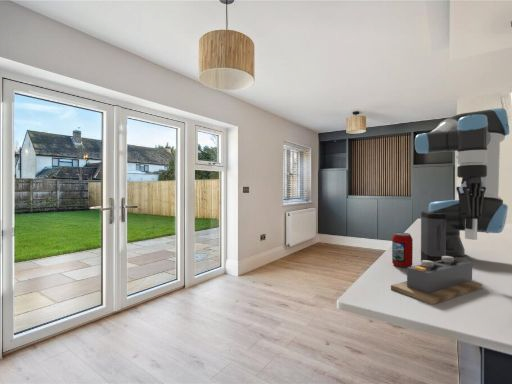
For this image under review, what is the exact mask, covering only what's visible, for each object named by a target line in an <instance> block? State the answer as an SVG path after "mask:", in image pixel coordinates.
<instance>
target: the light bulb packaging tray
mask: <svg viewBox="0 0 512 384" xmlns="http://www.w3.org/2000/svg"><path fill="white" fill-rule="evenodd" d="M406 275H407V276H406V281H407V287H409V288H412V289H415V290H418V291H421V292H424V293H427V294H429V293H433V292H436V291H439V290H442V289H446V288H449V287H452V286H456V285H459V284H462V283H465V282H469V281H473V262H472V261H468V260H463V259H457V258H454V262H453V263H451V266H449V265H445V264H444V262H443V261H442V260H439V261H435V262H434V267H431V271H429V270H426V268H424V266H422V265H421V264H418V265H414V266H413V265H411V266H410V267H406Z"/></svg>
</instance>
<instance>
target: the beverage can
mask: <svg viewBox="0 0 512 384" xmlns="http://www.w3.org/2000/svg"><path fill="white" fill-rule="evenodd" d="M391 239H392V240H391V245H392V247H391V252H392V253H391V256H392V257H391V258H392V259H391V261H392V264H393V265H394V266H396V267H398V266H399V268H408V267H412V266H413V257H414V256H413V251H414V250H413V238H412V235H411V233H409V232H394V234H393V235H392V238H391Z"/></svg>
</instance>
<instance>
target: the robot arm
mask: <svg viewBox="0 0 512 384" xmlns="http://www.w3.org/2000/svg"><path fill="white" fill-rule="evenodd" d="M509 135H510V125H509V118H508V113H507V110H506V108H503V107H498V108H497V107H496V108H491V109H484V110H478V111H469V112H463V113H459V114H455V115H452V116H451V117H448V118H446V119H444V120H442V121H441V122H440V123H438V125H437V126H436V128H435V129H433V130H432V131H430V132H426V133H425V132H423V133H418V134H417V135H415V138H414V148H415V151H416V153H417V154H432V153H433V154H434V153H444V152H457V156H456V158H457V165H458V166H457V167H456V168H457V169H456V170H457V171H456V176H457V177H458V178H462V179H461V183H460V186H456V192H457V195H458V199H450V200H448V199H447V200H439V201H431V202H430V203H429V204H428V210H427V211H435V212H439V213H445V214H446V256H450V257H453V258H455V257H456V258H457V257H464V256H465V255H466V254H465V253H466V251H465V247H464V244H463V242H462V239H461V233H460V232H461V231H463V232H464V239H466V240H473V241H476V240H477V241H478V233H486V234H501V233H502V232H503V231H504V228H505V226H506V220H507V216H508V209H509V206H508V204H505V203H504V200H503V199H502V198H501V197H500V196H499V186H500V185H499V183H500V180H499V179H500V154H501V153H500V151H501V150H500V148H501V147H500V146H501V143H502V142H503V141H504V140H505V138H506V136H509Z"/></svg>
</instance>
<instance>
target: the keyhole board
mask: <svg viewBox="0 0 512 384" xmlns="http://www.w3.org/2000/svg"><path fill="white" fill-rule="evenodd" d="M454 259H455V257H451V256H442V261H443V262H444V264H445V265H449V266H451V263H453V262H454ZM420 265H422V266H424V268H426V270H429V271H431V267H434V262H433V261H428V260H422V261H421V260H420ZM480 289H483V283H479V282H476V281H473V280H472V281H469V282H465V283H462V284H459V285H456V286H452V287H449V288H446V289H442V290H439V291H436V292H433V293H429V294H427V293H424V292H421V291H418V290H415V289H412V288H409V287H407V280H406V281H401V282H399V283H394V284H391V285H390V290H392V291H395V292H397V293H399V294H400V293H401V294H403V295H406V296H409V297H410V298H413V299H416V300H420V301H422V302H425V303H427V304H430V305H437V304H438V303H442V302H444V301H445V302H446V301H448V300H451V299H453V298H456V297H460V296H463V295H466V294H469V293H472V292H475V291H477V290H480Z"/></svg>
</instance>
